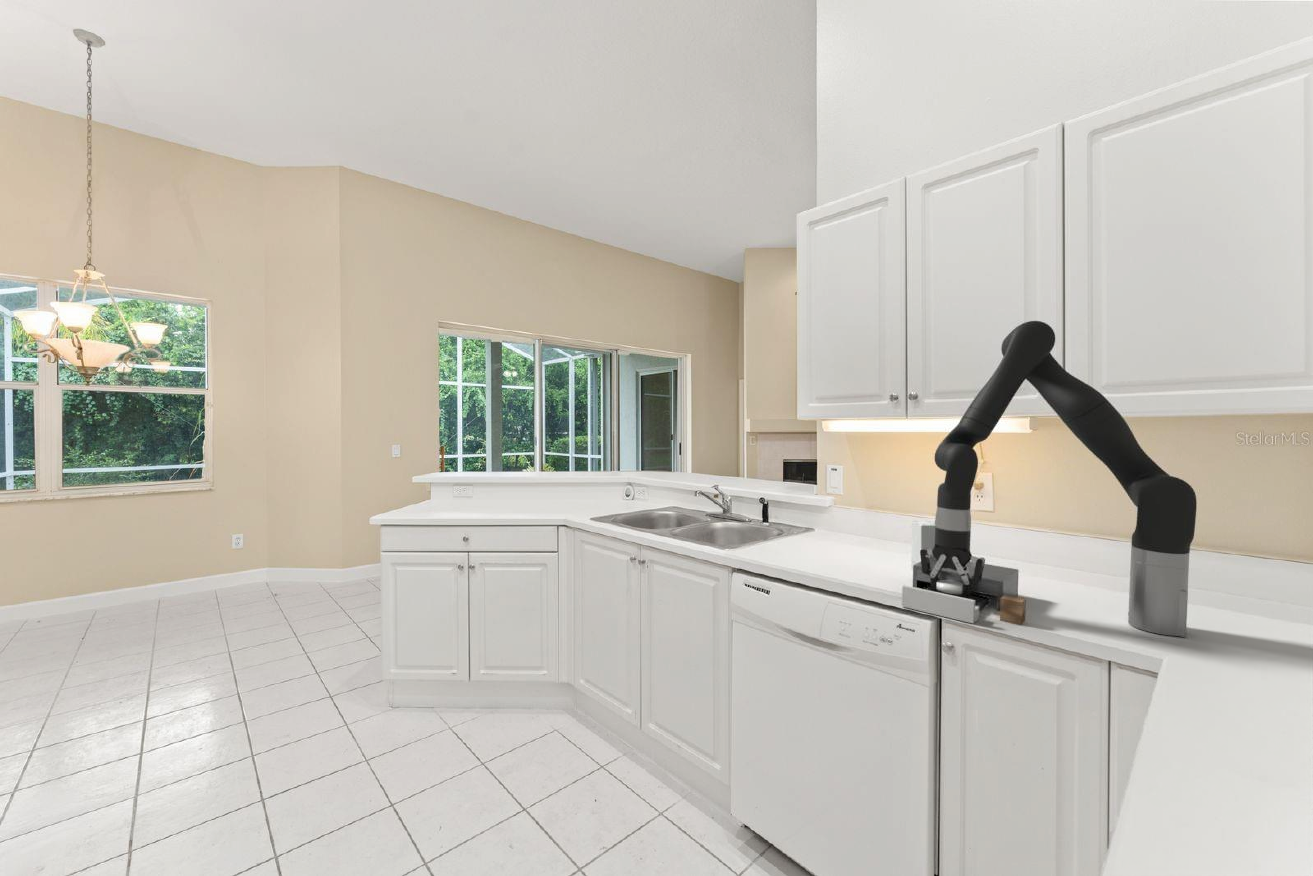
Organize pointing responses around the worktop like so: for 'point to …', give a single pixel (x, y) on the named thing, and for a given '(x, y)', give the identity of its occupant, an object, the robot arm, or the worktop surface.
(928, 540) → the skincare box
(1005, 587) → the housing
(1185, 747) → the worktop surface
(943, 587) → the white rounded flat dome
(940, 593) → the tray
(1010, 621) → the wooden block
